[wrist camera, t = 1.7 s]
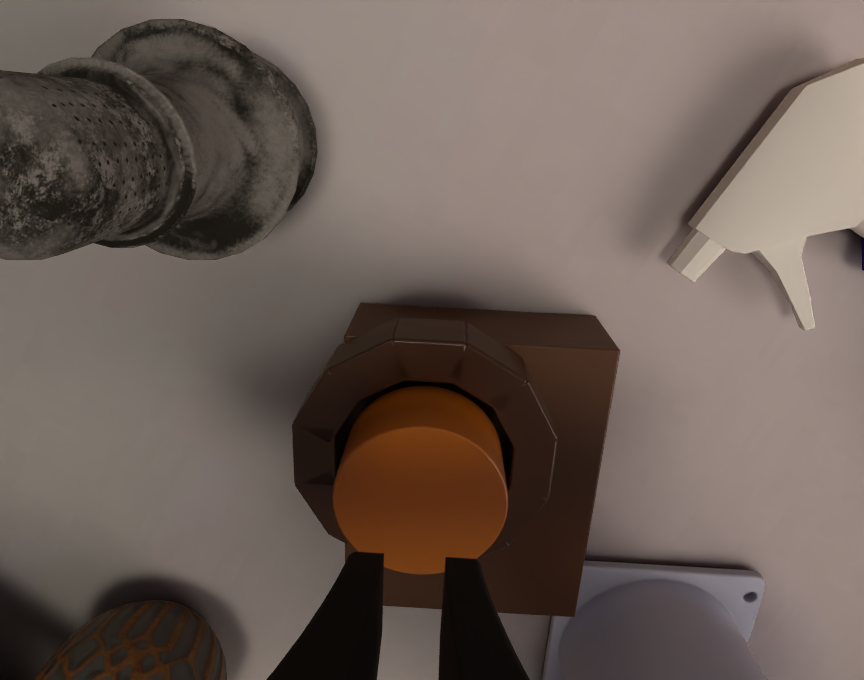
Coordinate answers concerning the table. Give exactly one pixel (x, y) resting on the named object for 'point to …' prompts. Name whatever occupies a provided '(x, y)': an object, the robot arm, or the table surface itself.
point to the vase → (140, 646)
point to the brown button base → (512, 418)
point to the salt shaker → (151, 147)
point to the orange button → (421, 480)
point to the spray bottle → (789, 186)
